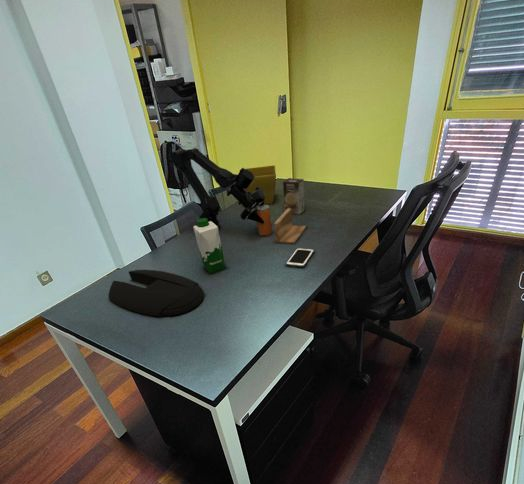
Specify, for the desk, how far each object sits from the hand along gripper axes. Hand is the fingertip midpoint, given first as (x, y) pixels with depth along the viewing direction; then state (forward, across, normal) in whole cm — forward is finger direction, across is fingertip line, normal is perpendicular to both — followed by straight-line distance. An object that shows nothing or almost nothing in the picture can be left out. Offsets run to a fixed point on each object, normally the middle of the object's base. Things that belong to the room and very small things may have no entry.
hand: (266, 220), depth 155 cm
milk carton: (-2, -36, +12) cm, 38 cm away
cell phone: (+21, -22, -12) cm, 33 cm away
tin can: (+4, 0, +6) cm, 7 cm away
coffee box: (+8, +28, +2) cm, 30 cm away
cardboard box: (-10, +42, +19) cm, 47 cm away
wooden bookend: (+13, 0, -4) cm, 14 cm away
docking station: (-11, -59, +20) cm, 64 cm away
